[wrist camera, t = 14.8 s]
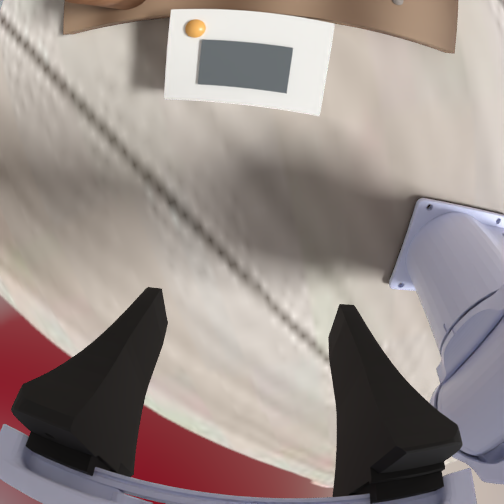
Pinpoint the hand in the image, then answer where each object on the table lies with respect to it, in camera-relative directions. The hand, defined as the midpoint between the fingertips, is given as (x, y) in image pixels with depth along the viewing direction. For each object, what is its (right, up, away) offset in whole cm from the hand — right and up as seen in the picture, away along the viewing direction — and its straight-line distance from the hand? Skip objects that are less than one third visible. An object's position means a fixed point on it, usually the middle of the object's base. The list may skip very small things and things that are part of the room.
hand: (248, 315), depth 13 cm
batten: (0, +18, 0) cm, 18 cm away
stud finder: (0, +14, +3) cm, 14 cm away
